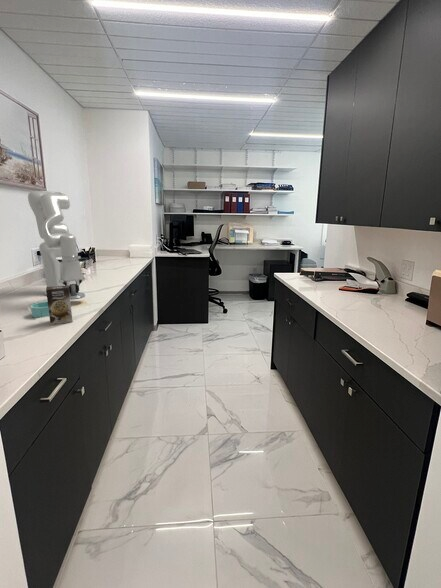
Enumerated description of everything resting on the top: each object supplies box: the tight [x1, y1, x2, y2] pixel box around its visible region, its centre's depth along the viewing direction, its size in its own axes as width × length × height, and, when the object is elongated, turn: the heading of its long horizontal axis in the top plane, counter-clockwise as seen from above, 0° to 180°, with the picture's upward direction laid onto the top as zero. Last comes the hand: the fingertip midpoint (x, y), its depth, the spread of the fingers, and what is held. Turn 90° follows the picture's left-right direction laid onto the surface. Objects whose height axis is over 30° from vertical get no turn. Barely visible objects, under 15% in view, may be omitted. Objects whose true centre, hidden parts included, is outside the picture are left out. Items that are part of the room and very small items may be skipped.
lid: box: [69, 283, 86, 301], centre depth 165 cm, size 11×11×7 cm
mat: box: [70, 299, 89, 308], centre depth 166 cm, size 11×11×1 cm
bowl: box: [29, 301, 49, 319], centre depth 149 cm, size 11×11×5 cm
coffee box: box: [45, 285, 74, 326], centre depth 138 cm, size 9×6×16 cm
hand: (73, 292), depth 165 cm, fingers closed on lid, 3 cm apart
